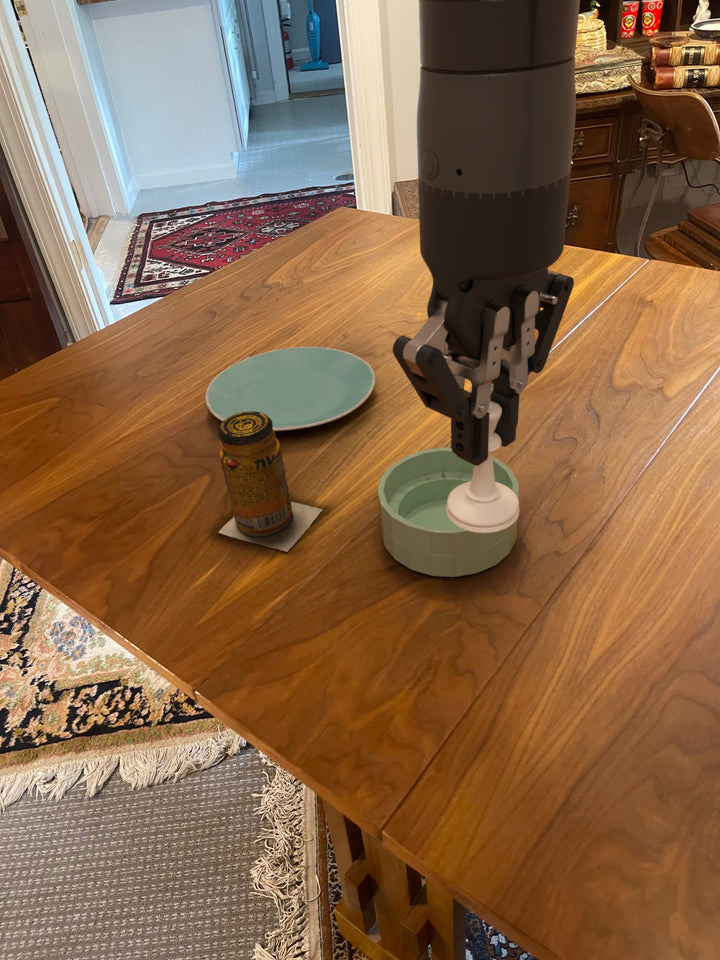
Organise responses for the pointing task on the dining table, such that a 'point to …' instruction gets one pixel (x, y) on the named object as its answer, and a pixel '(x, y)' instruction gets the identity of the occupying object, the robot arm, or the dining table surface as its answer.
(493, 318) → the robot arm
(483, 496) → the chess piece
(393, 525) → the bowl
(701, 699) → the dining table surface
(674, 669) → the dining table surface
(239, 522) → the condiment
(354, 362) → the plate
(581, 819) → the dining table surface
